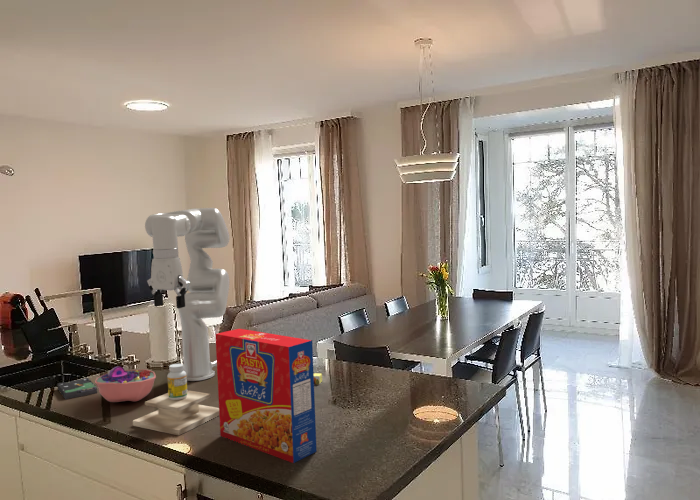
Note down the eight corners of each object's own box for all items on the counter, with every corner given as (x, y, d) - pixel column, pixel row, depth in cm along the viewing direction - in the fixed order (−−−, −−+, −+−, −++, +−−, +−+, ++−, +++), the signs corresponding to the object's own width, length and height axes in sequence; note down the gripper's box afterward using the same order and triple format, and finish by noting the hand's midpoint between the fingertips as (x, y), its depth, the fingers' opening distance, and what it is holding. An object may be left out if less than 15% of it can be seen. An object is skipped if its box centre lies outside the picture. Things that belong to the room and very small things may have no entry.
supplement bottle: (188, 398, 161) (187, 366, 160) (169, 401, 159) (167, 368, 158) (186, 393, 166) (184, 361, 165) (167, 396, 163) (165, 364, 163)
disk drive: (57, 391, 196) (65, 400, 185) (56, 383, 196) (64, 392, 185) (88, 385, 203) (98, 394, 191) (88, 377, 203) (97, 386, 191)
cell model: (133, 412, 170) (131, 376, 169) (83, 406, 177) (81, 372, 176) (169, 395, 186) (167, 362, 185) (122, 390, 193) (120, 358, 192)
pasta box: (220, 436, 149) (215, 333, 147) (243, 427, 155) (239, 328, 153) (293, 463, 131) (288, 347, 129) (316, 451, 137) (312, 340, 135)
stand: (179, 405, 174) (178, 385, 174) (223, 413, 166) (222, 392, 166) (132, 425, 159) (131, 403, 158) (179, 435, 150) (177, 412, 150)
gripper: (137, 255, 178) (141, 307, 180) (177, 256, 170) (181, 310, 172) (155, 252, 184) (159, 302, 186) (194, 253, 177) (198, 306, 178)
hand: (169, 306), depth 179 cm, fingers open, 9 cm apart
